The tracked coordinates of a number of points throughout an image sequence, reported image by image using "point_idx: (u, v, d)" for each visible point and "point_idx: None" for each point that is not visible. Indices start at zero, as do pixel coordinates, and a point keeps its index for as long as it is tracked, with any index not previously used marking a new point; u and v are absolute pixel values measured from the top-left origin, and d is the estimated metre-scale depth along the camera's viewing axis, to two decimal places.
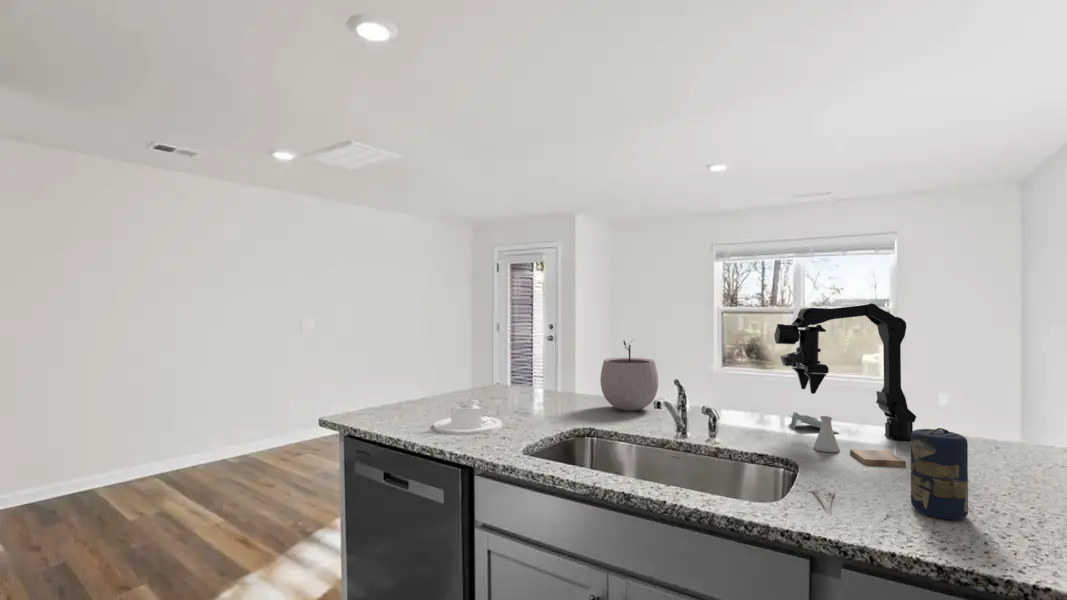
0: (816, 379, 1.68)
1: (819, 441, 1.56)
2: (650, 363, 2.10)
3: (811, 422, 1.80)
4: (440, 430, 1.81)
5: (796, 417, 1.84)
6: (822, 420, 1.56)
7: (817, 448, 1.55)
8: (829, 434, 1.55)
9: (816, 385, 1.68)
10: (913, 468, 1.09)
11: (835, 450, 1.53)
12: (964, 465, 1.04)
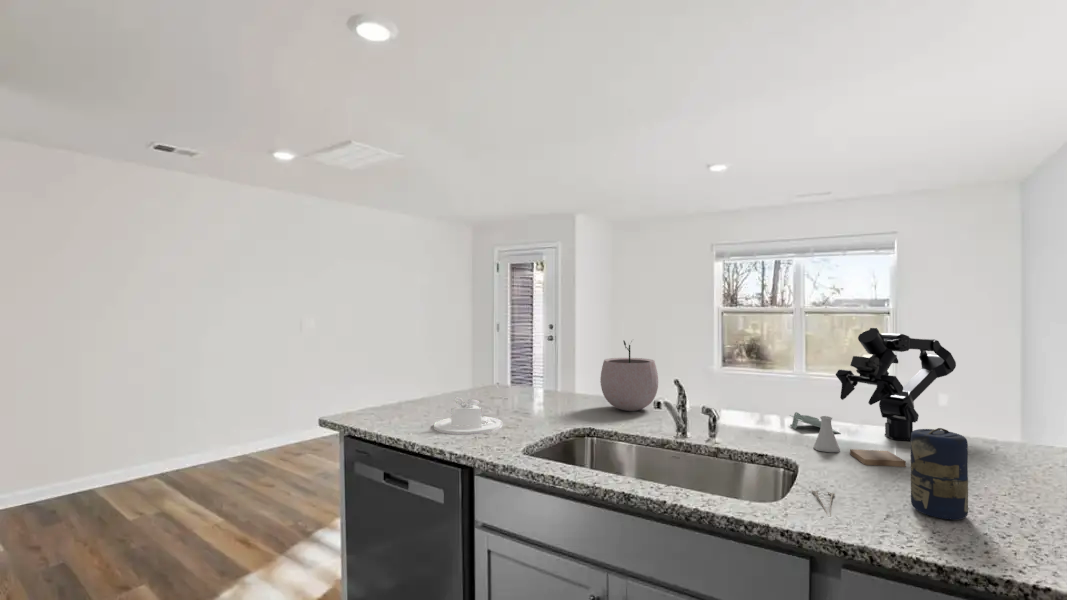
0: (881, 394, 1.57)
1: (819, 441, 1.56)
2: (650, 363, 2.10)
3: (812, 422, 1.80)
4: (440, 430, 1.81)
5: (797, 417, 1.84)
6: (822, 420, 1.56)
7: (817, 448, 1.55)
8: (829, 434, 1.55)
9: (878, 398, 1.57)
10: (913, 468, 1.09)
11: (835, 450, 1.53)
12: (964, 465, 1.04)
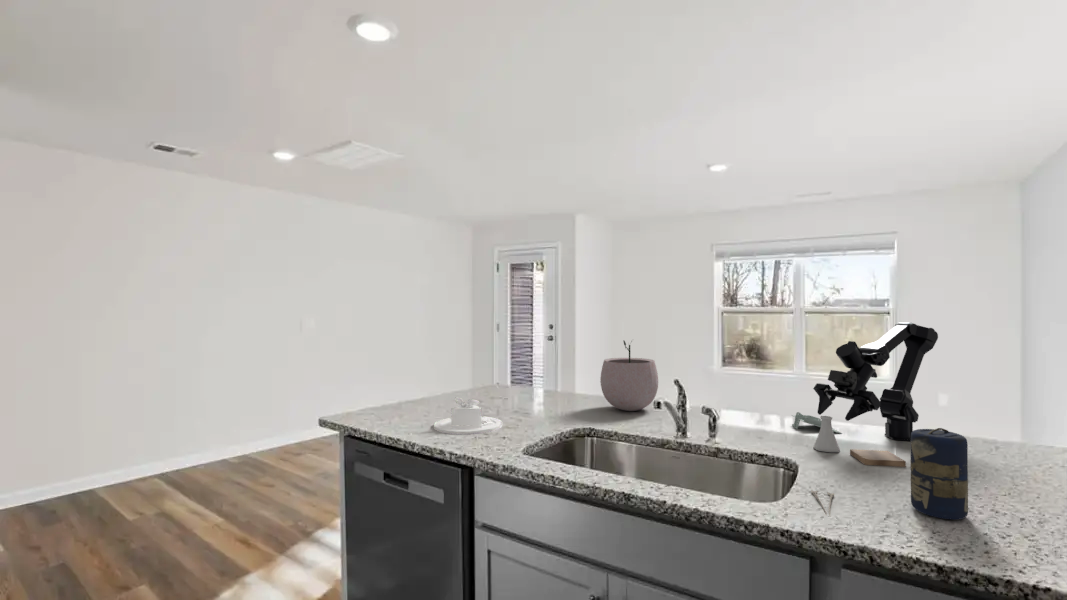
0: (858, 410, 1.53)
1: (819, 441, 1.56)
2: (650, 363, 2.10)
3: (814, 422, 1.80)
4: (440, 430, 1.81)
5: (799, 417, 1.84)
6: (822, 420, 1.56)
7: (817, 448, 1.55)
8: (829, 434, 1.55)
9: (855, 414, 1.53)
10: (913, 468, 1.09)
11: (835, 450, 1.53)
12: (964, 465, 1.04)
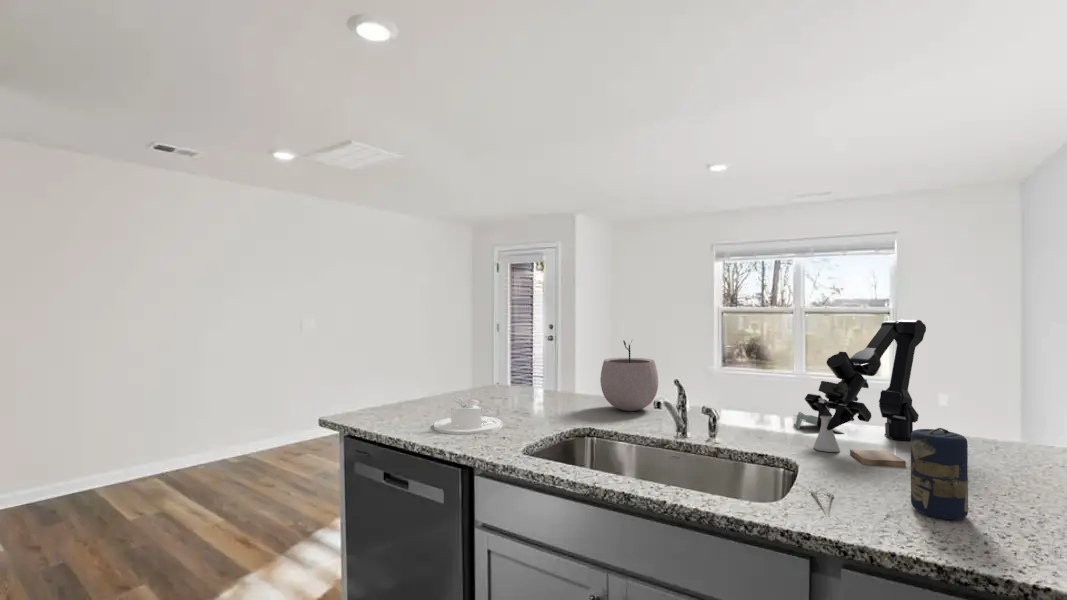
0: (840, 419, 1.55)
1: (819, 441, 1.56)
2: (650, 363, 2.10)
3: (816, 422, 1.80)
4: (440, 430, 1.81)
5: (801, 417, 1.84)
6: (822, 420, 1.56)
7: (817, 448, 1.55)
8: (829, 433, 1.55)
9: (837, 424, 1.54)
10: (913, 468, 1.09)
11: (835, 450, 1.53)
12: (964, 465, 1.04)
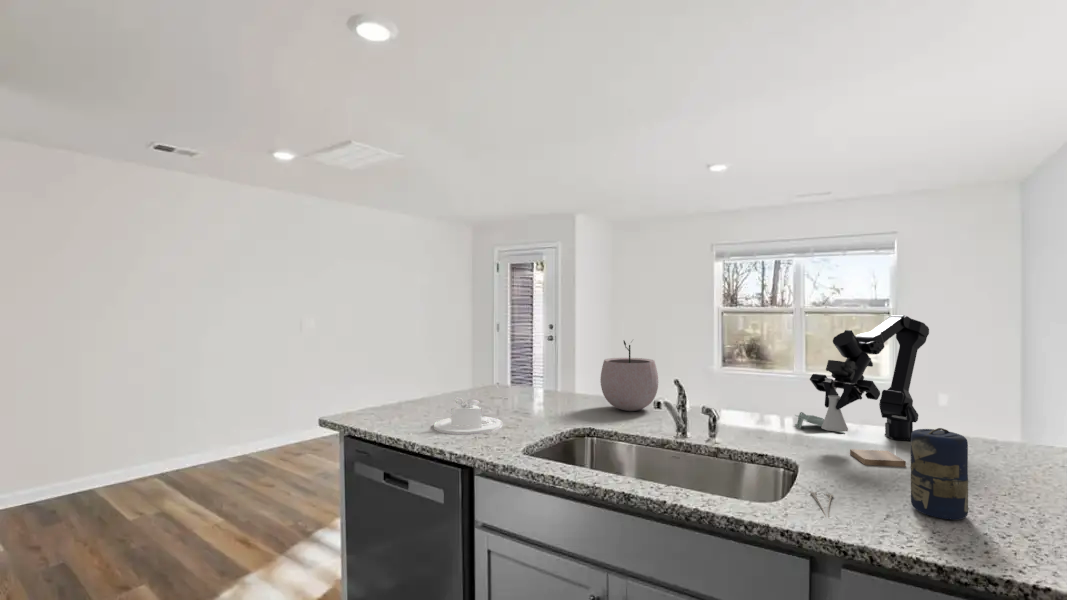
0: (848, 398, 1.53)
1: (827, 420, 1.53)
2: (650, 363, 2.10)
3: (817, 422, 1.80)
4: (440, 430, 1.81)
5: (802, 417, 1.84)
6: (830, 399, 1.54)
7: (826, 428, 1.53)
8: (838, 413, 1.53)
9: (845, 403, 1.52)
10: (913, 468, 1.09)
11: (844, 429, 1.51)
12: (964, 465, 1.04)
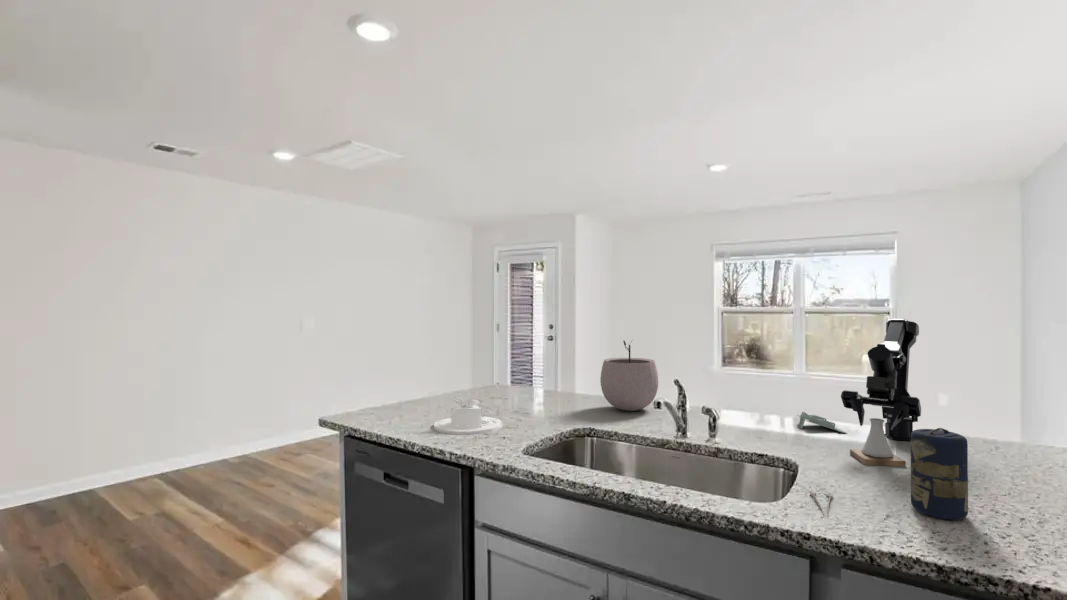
0: (898, 417, 1.44)
1: (873, 446, 1.44)
2: (650, 363, 2.10)
3: (819, 422, 1.80)
4: (440, 430, 1.81)
5: (804, 417, 1.84)
6: (874, 423, 1.45)
7: (873, 454, 1.43)
8: (883, 437, 1.44)
9: (896, 422, 1.43)
10: (913, 468, 1.09)
11: (891, 454, 1.43)
12: (964, 465, 1.04)
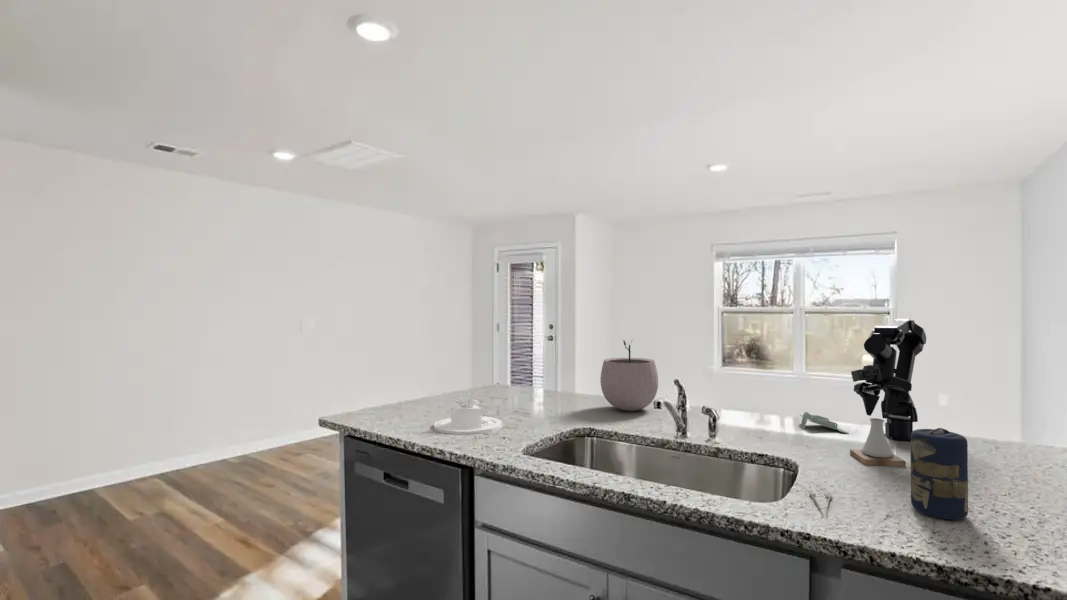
0: (894, 398, 1.51)
1: (873, 446, 1.44)
2: (650, 363, 2.10)
3: (821, 422, 1.80)
4: (440, 430, 1.81)
5: (806, 417, 1.84)
6: (874, 423, 1.45)
7: (873, 454, 1.43)
8: (883, 437, 1.44)
9: (893, 404, 1.50)
10: (913, 468, 1.09)
11: (891, 454, 1.43)
12: (964, 465, 1.04)
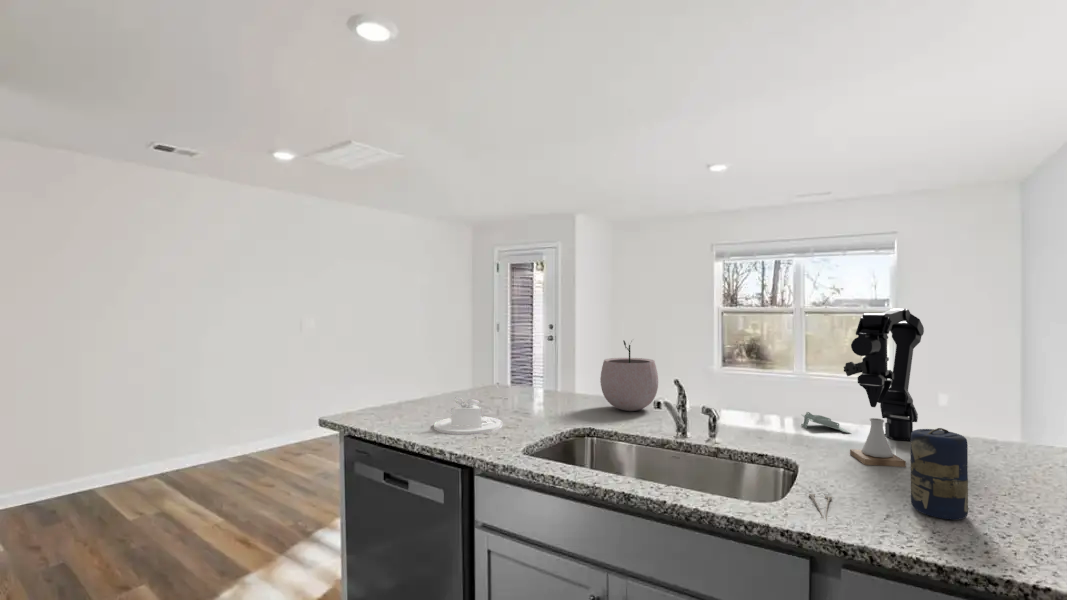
0: (874, 392, 1.54)
1: (873, 446, 1.44)
2: (650, 363, 2.10)
3: (823, 422, 1.80)
4: (440, 430, 1.81)
5: (808, 417, 1.84)
6: (874, 423, 1.45)
7: (873, 454, 1.43)
8: (883, 437, 1.44)
9: (875, 398, 1.54)
10: (913, 468, 1.09)
11: (891, 454, 1.43)
12: (963, 465, 1.04)
